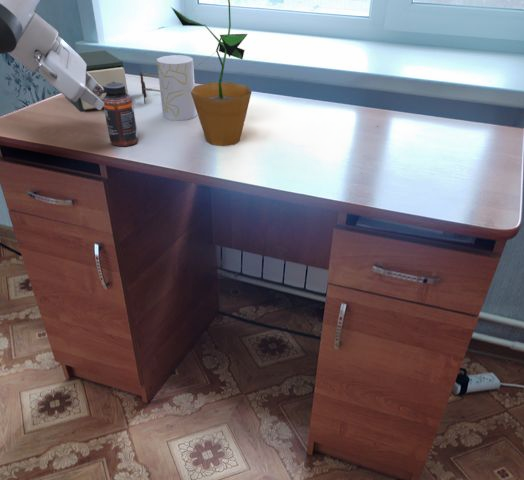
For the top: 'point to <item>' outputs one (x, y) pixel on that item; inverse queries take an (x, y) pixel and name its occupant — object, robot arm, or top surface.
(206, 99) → the potted plant
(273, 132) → the top surface
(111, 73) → the drawer
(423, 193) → the top surface
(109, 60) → the cabinet
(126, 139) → the supplement bottle
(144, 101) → the sunglasses
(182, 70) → the cup
